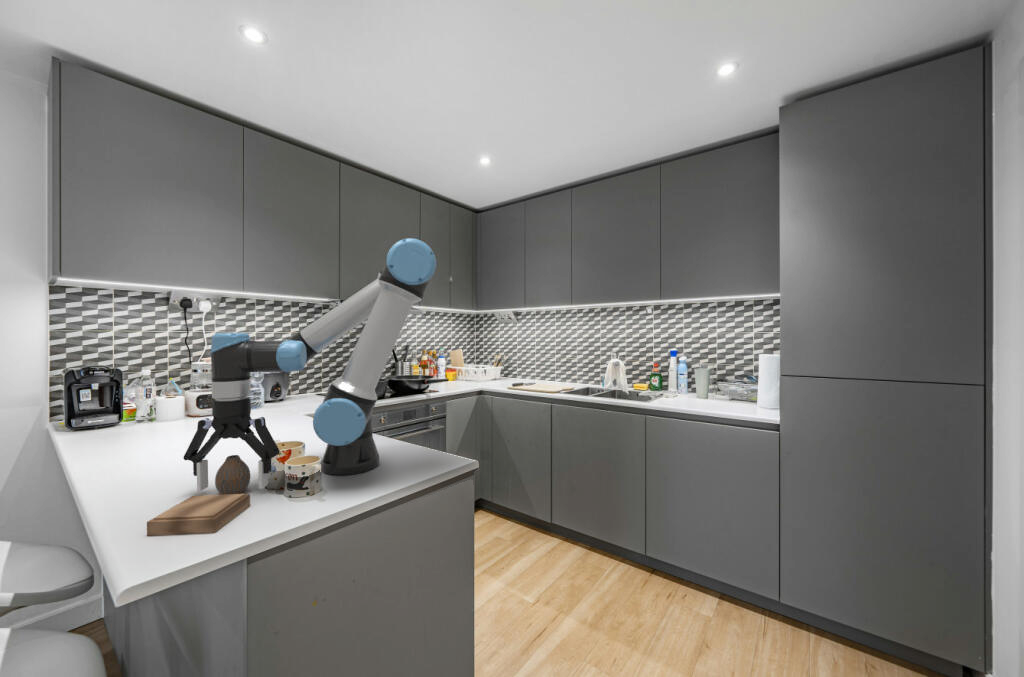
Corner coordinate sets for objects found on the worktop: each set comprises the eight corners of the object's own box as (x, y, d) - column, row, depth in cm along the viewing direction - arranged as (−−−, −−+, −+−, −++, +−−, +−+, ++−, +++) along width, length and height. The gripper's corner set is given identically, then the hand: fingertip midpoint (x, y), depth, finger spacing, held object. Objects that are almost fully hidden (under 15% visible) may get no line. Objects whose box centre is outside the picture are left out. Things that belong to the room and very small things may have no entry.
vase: (253, 493, 96) (253, 456, 96) (217, 501, 92) (217, 462, 92) (247, 485, 101) (246, 450, 101) (213, 493, 97) (212, 456, 97)
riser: (250, 506, 89) (249, 492, 89) (214, 532, 77) (214, 517, 77) (191, 508, 88) (191, 494, 88) (147, 535, 76) (146, 520, 76)
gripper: (293, 394, 101) (295, 480, 101) (186, 396, 99) (188, 483, 99) (279, 399, 93) (280, 491, 94) (162, 402, 91) (164, 496, 92)
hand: (233, 488), depth 96 cm, fingers open, 13 cm apart
